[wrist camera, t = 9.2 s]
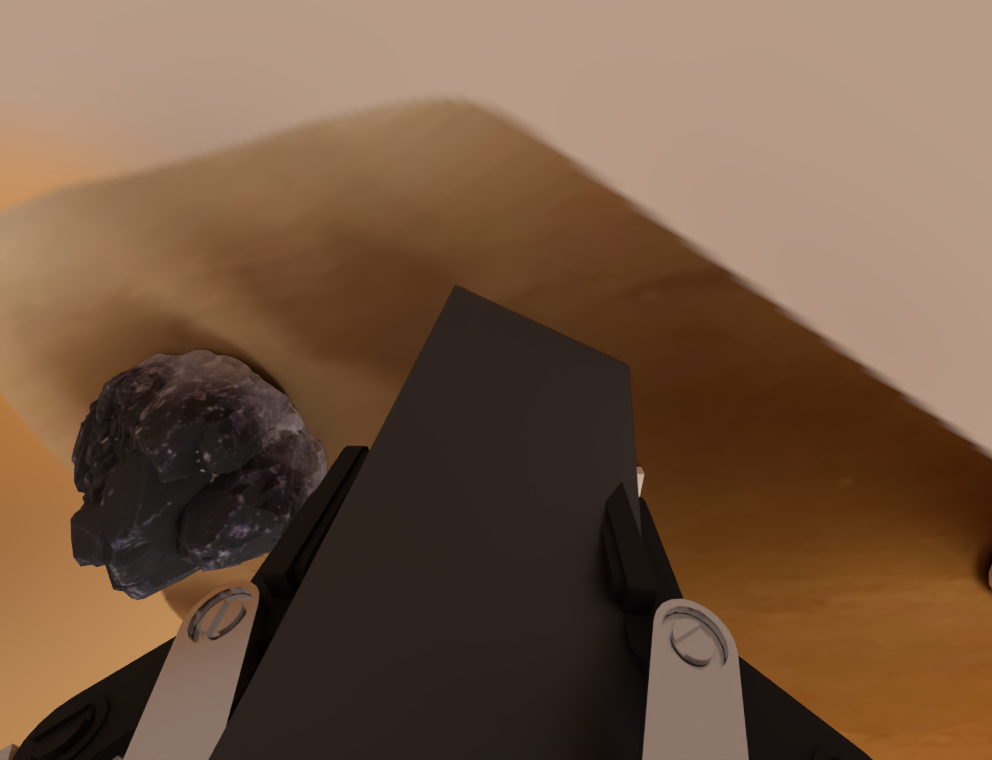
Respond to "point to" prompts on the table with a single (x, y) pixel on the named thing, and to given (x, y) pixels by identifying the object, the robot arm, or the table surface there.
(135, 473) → the black rock
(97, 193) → the table surface
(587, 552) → the phone stand
